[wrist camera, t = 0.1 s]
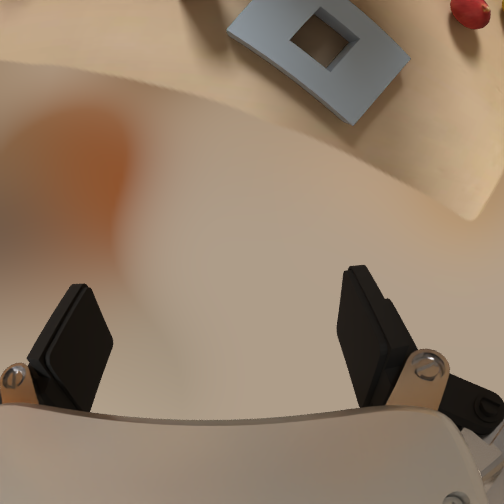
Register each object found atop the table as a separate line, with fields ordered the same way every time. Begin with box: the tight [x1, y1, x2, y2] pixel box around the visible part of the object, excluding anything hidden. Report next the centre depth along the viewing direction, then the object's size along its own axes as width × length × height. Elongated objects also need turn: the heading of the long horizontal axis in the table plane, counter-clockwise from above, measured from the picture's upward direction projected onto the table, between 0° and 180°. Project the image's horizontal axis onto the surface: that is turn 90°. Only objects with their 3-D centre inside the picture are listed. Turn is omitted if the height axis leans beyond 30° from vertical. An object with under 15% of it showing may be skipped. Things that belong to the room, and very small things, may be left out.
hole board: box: [226, 0, 411, 126], centre depth 30 cm, size 12×18×4 cm, turn 53°
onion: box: [450, 0, 491, 29], centre depth 24 cm, size 6×6×8 cm
